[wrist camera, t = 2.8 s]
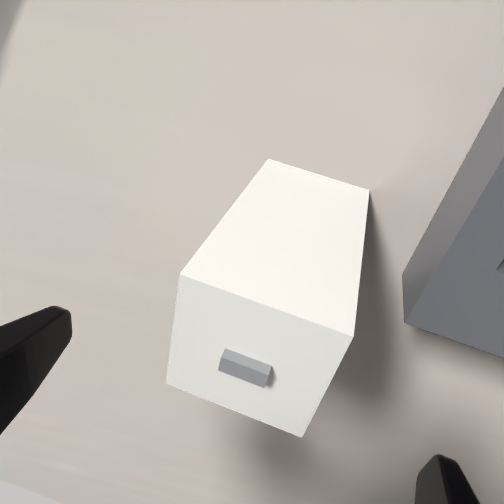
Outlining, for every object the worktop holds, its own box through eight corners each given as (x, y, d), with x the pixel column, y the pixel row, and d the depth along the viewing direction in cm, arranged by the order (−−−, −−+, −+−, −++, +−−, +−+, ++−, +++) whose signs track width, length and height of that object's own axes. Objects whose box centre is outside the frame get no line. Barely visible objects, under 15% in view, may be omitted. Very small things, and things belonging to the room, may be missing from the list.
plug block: (369, 190, 15) (352, 346, 8) (335, 272, 17) (299, 447, 10) (268, 158, 15) (173, 281, 9) (247, 242, 18) (160, 392, 11)
